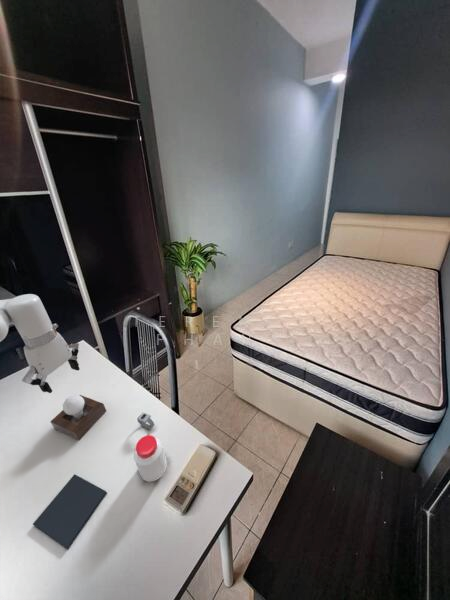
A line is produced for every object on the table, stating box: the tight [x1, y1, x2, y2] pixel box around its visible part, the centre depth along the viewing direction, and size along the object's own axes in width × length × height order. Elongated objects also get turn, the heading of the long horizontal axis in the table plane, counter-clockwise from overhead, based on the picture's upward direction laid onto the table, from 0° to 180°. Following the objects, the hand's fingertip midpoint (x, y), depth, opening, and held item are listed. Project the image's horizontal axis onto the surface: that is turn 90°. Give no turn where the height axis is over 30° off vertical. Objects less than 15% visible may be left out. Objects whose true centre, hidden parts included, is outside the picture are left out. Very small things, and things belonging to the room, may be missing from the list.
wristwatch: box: [137, 412, 155, 430], centre depth 83 cm, size 6×3×5 cm, turn 65°
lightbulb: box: [62, 394, 85, 423], centre depth 85 cm, size 6×6×11 cm
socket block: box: [50, 394, 107, 441], centre depth 86 cm, size 12×12×4 cm
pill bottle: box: [133, 434, 168, 483], centre depth 70 cm, size 8×8×11 cm
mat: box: [32, 474, 108, 550], centre depth 64 cm, size 12×12×1 cm
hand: (62, 379), depth 78 cm, fingers open, 9 cm apart
